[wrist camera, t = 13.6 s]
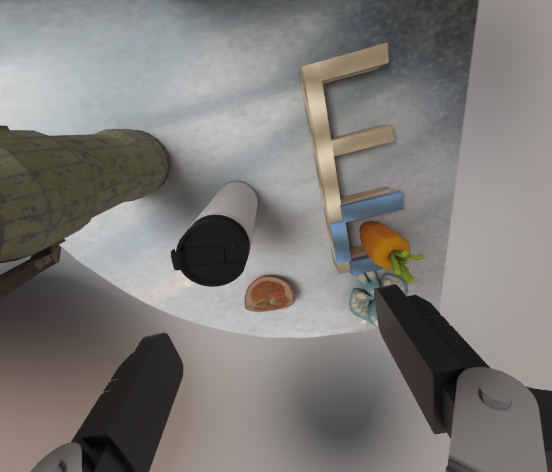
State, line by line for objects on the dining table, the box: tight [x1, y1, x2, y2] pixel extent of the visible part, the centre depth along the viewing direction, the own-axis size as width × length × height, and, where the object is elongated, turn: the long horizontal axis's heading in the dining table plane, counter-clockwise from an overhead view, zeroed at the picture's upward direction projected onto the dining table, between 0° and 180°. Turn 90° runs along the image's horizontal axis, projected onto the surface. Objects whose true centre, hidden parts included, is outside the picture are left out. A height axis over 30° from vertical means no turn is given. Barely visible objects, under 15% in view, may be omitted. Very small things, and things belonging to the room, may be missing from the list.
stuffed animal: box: [349, 271, 408, 328], centre depth 45 cm, size 11×7×12 cm
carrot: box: [360, 221, 425, 283], centre depth 36 cm, size 5×5×15 cm
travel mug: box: [171, 181, 258, 287], centre depth 32 cm, size 6×7×20 cm
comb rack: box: [299, 43, 406, 276], centre depth 37 cm, size 29×10×5 cm, turn 14°
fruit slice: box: [245, 276, 295, 312], centre depth 45 cm, size 8×7×5 cm
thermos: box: [0, 126, 170, 299], centre depth 22 cm, size 9×12×35 cm
